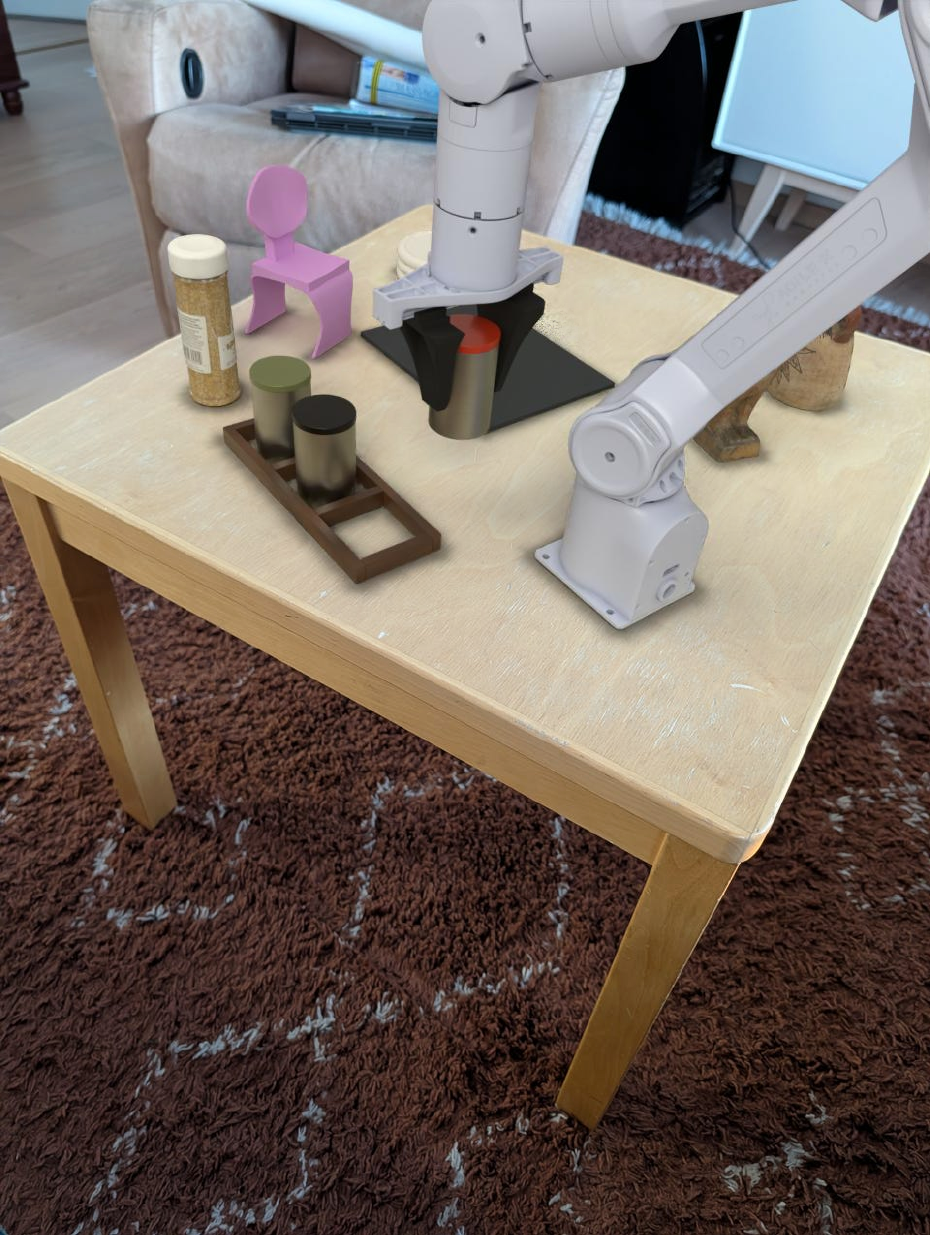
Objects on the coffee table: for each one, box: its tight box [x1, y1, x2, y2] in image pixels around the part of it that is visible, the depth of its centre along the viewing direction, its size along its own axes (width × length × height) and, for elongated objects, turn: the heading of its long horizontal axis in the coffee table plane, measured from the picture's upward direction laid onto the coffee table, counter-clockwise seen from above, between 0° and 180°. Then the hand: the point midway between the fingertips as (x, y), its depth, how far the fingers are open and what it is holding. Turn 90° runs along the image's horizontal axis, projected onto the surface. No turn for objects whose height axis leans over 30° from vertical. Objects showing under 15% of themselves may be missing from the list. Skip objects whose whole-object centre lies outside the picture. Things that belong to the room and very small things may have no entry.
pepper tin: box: [292, 393, 357, 510], centre depth 70 cm, size 5×5×8 cm
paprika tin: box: [427, 314, 501, 441], centre depth 66 cm, size 5×5×8 cm
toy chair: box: [244, 164, 354, 360], centre depth 85 cm, size 8×9×15 cm
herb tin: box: [248, 355, 312, 465], centre depth 74 cm, size 5×5×8 cm
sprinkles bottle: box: [167, 233, 242, 407], centre depth 77 cm, size 5×5×13 cm
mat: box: [360, 304, 616, 434], centre depth 90 cm, size 20×16×1 cm
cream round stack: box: [396, 229, 432, 279], centre depth 101 cm, size 10×10×4 cm
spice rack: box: [222, 417, 442, 585], centre depth 72 cm, size 21×7×2 cm, turn 37°
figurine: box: [766, 304, 863, 412], centre depth 86 cm, size 7×7×12 cm
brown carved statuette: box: [692, 366, 780, 463], centre depth 78 cm, size 12×6×18 cm, turn 16°
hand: (462, 394), depth 67 cm, fingers closed on paprika tin, 4 cm apart
